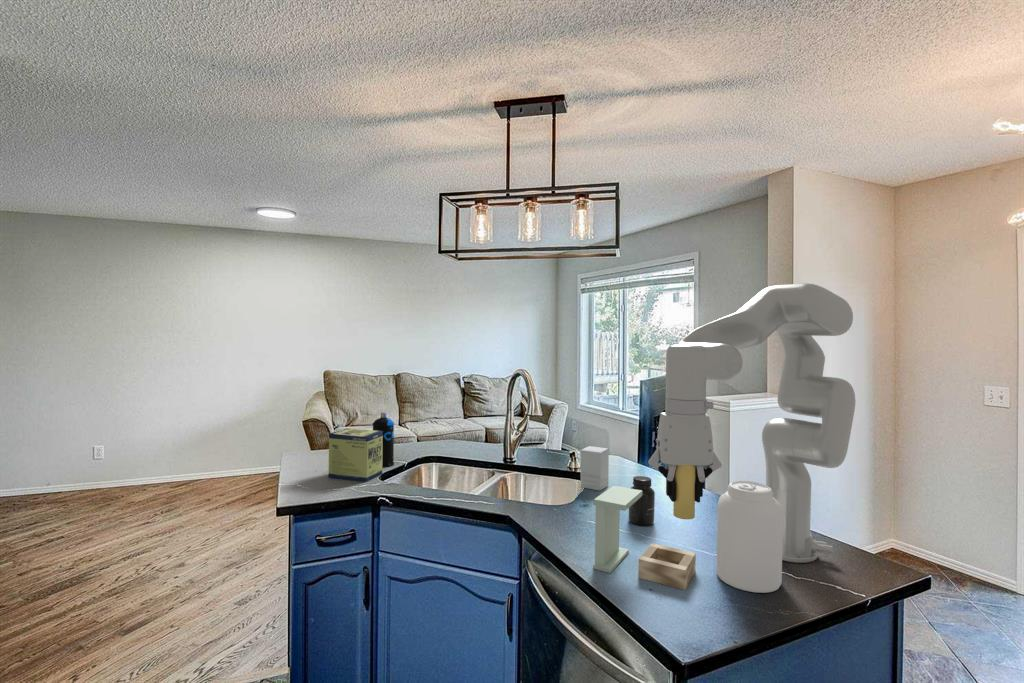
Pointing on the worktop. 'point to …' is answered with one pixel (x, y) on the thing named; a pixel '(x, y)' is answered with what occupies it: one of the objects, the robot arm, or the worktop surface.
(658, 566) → the socket block
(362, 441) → the protein box
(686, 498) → the peg
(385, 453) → the black bottle
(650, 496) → the supplement bottle
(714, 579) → the worktop surface
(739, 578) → the can
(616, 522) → the pale green stand
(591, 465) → the supplement box
